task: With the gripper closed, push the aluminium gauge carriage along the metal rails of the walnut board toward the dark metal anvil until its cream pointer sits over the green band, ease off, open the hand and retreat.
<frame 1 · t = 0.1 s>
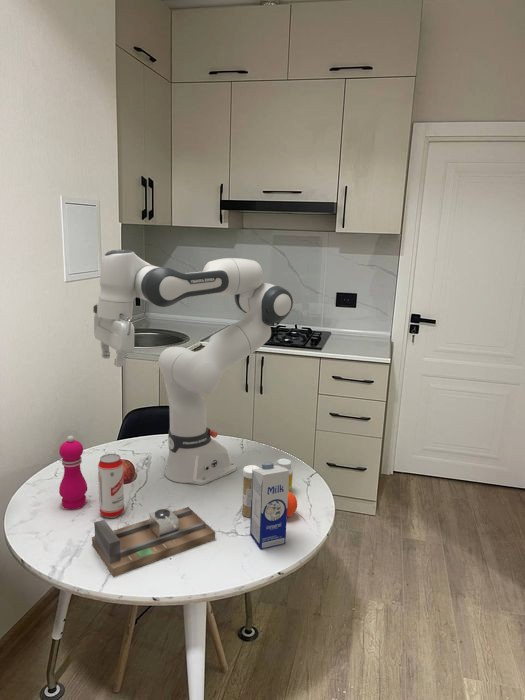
hand: (111, 362, 142), 39 cm above the table, tool pointing down, fingers open, 8 cm apart
gauge base: (154, 541, 129), on the table
supplement bottle: (282, 492, 156), on the table
clementine: (284, 517, 142), on the table
milk carton: (267, 539, 132), on the table
sprinkles bottle: (250, 514, 143), on the table
gauge carriage: (166, 525, 128), point 4 cm above the table, slide at 0.0 cm
beer can: (112, 513, 141), on the table
pepper mill: (74, 504, 145), on the table
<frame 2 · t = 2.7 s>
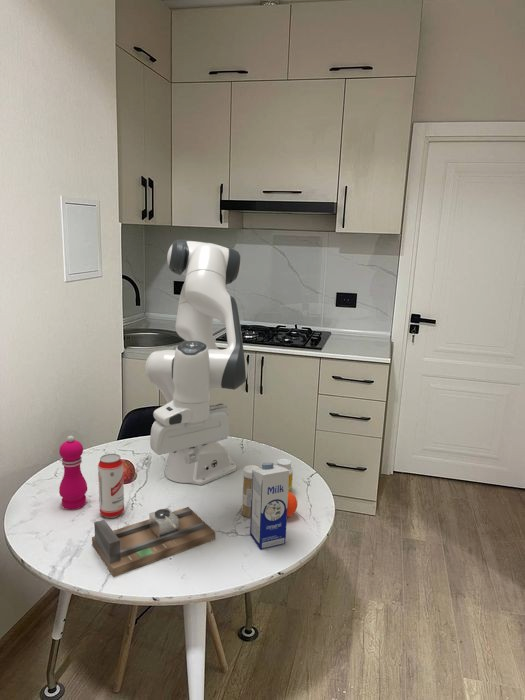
hand: (191, 462, 130), 19 cm above the table, tool pointing down, fingers closed
nothing on the table moved.
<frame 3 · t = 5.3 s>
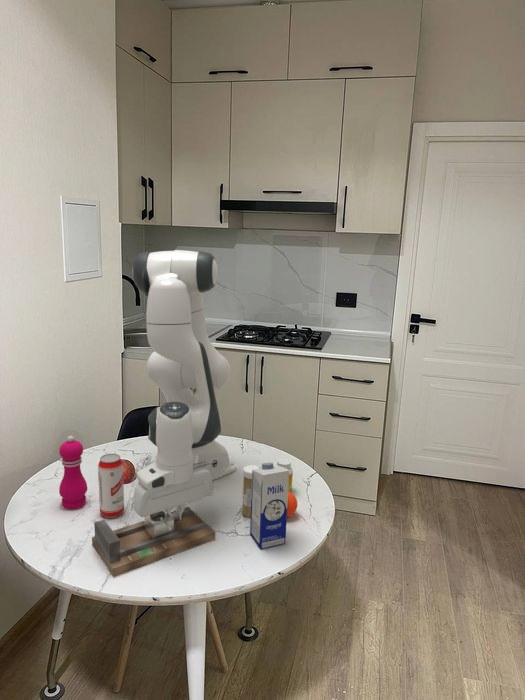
hand: (174, 520, 131), 4 cm above the table, tool pointing down, fingers closed
gauge carriage: (161, 527, 127), point 4 cm above the table, slide at 1.3 cm, touching gripper
everything else where it was.
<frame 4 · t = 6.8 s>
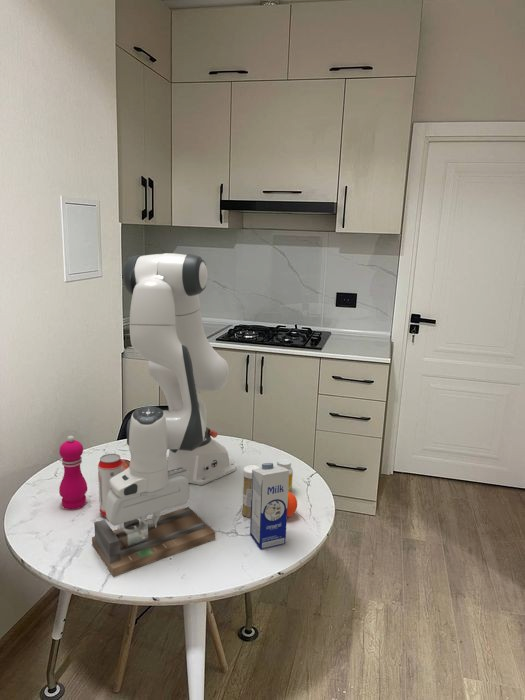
hand: (149, 528, 127), 4 cm above the table, tool pointing down, fingers closed
gauge carriage: (135, 535, 123), point 4 cm above the table, slide at 7.9 cm, touching gripper
everything else where it was.
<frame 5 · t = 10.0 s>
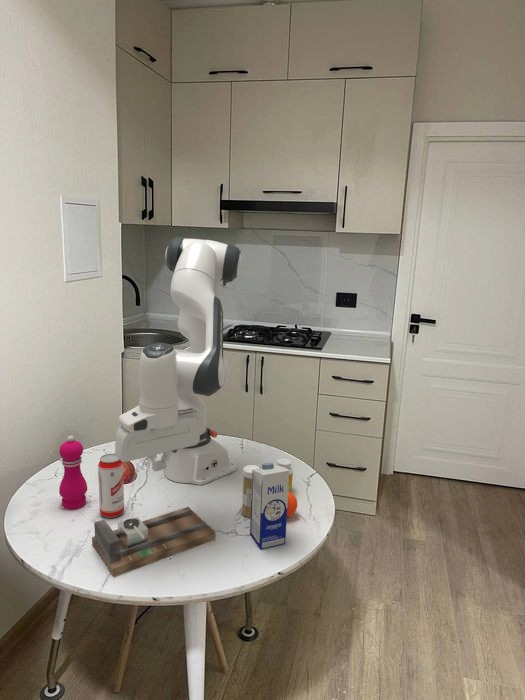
hand: (159, 469, 125), 19 cm above the table, tool pointing down, fingers closed
gauge carriage: (135, 535, 123), point 4 cm above the table, slide at 8.0 cm
everything else where it was.
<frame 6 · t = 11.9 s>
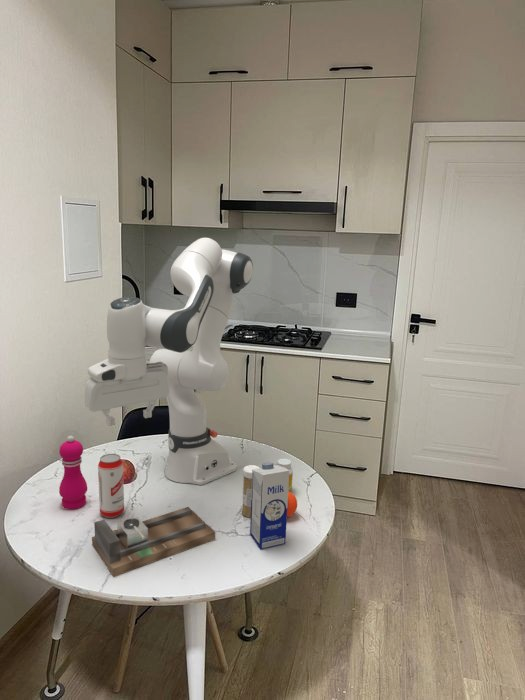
hand: (129, 421, 129), 29 cm above the table, tool pointing down, fingers open, 8 cm apart
nothing on the table moved.
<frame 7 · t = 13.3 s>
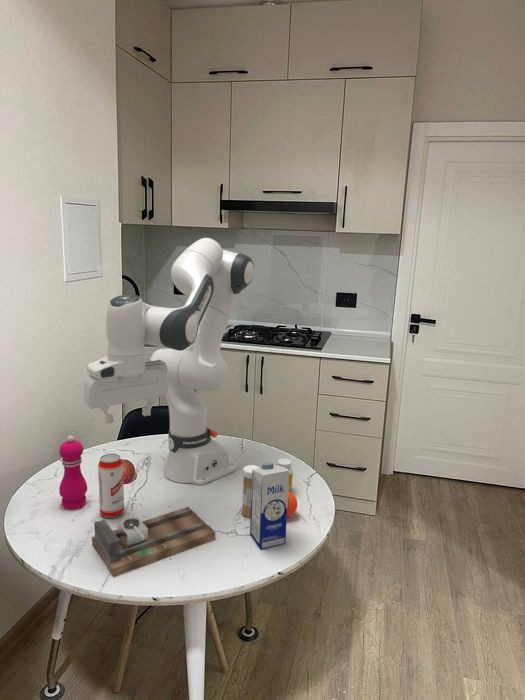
hand: (128, 418, 129), 29 cm above the table, tool pointing down, fingers open, 8 cm apart
nothing on the table moved.
at the end: gauge carriage slide at 8.0 cm; beer can moved 0.2 cm from its start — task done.
